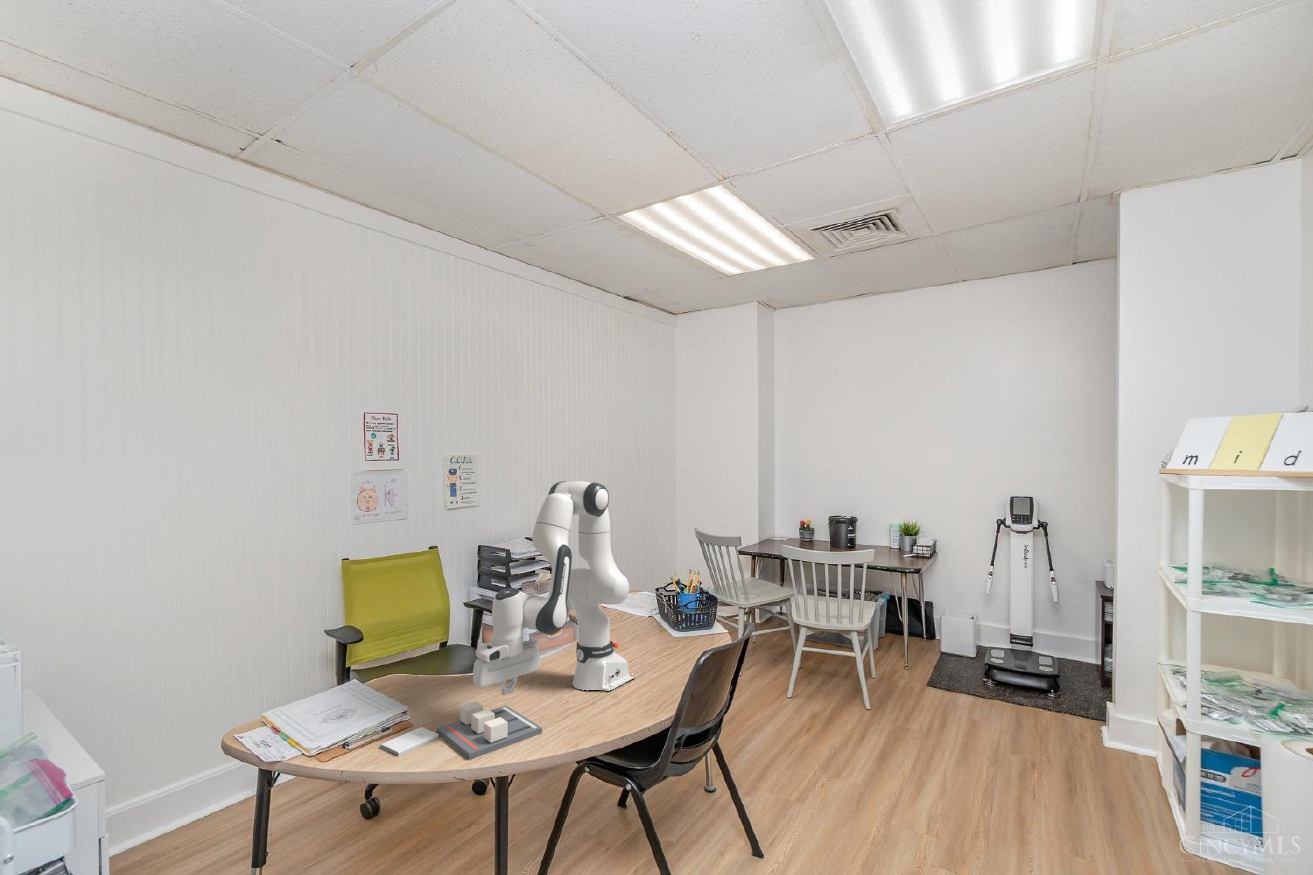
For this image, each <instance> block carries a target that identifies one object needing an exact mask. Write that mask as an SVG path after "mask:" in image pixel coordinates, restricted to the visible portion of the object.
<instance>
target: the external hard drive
mask: <svg viewBox="0 0 1313 875" xmlns="http://www.w3.org/2000/svg"><path fill="white" fill-rule="evenodd" d="M439 736H440V735H439V734H438V733H437V732H436V731H432V730H430V729H428V728H425V727H422V726H420V727H417V728H416V729H413V730H410V731H409V732H406V733H403V734H402V735H399V736H396V737H395V738H392V739H389V740H387V741H385V742H382V743H380V745H379V748H380V749H382V750H385V751H386V752H389V753H390V752H391V753H390V754H392V753H393V755H395V756H396V757H400V755H401V756H403V755H405V754H407V753H409V752H412V751H413V750H416V749H419V748H420V747H422V746H424V745H426V744H428V743H431V742H432V740H433V741H435V740H437V739H439ZM436 738H437V739H436ZM434 739H435V740H434ZM406 752H407V753H406ZM402 754H403V755H402Z"/></svg>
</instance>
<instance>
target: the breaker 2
mask: <svg viewBox="0 0 1313 875" xmlns="http://www.w3.org/2000/svg"><path fill="white" fill-rule="evenodd" d="M507 732H508V722H507V721H505V720H504V719H502V718H501V717H499V718H496V719H493V720H490V721H487V722H484V736H483V737H484V738H485V739H486V740H488V741H489V742H490V743H491V742H494V741H497V740H500V739H503V738H505V737H507Z"/></svg>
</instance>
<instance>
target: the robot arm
mask: <svg viewBox="0 0 1313 875" xmlns="http://www.w3.org/2000/svg"><path fill="white" fill-rule="evenodd" d="M609 503H610V494H609V491H608V489H607V487H606V485H604V484H601V483H598V482H595V481H594V482H590V481H584V480H576V481H575V480H574V481H571V480H570V481H565V480H563V481H559V482H556V483H554V484H553V485H552V486H551V488H550V489H549V491H548V495H547V496H546V497H545V499H544V501H543V504H542V506H541V507H540V510H539V511H538V515H537V517H536V518H537V519H536V521H535V525H534V527H533V531H532V537H531V539H532V541H531V542H532V544H533V546H534V548H535V549H536V551H537V552H538V553H539V554H540V555H541V556H543V557H544V558H545V559H547V561H548V562H549V564H550V566H551V574H550V575H551V576H550V584H549V589H548V590H549V591H548V596H547V597H544V596H540V595H537V594H533V593H532V594H531V593H526V592H523V591H521V589H519V588H516V587H509V588H508V587H507V588H504V589H501V590H500V591H498V592H496V594H494V598H493V601H492V607H491V623H492V628H493V630H492V634H491V639H490V640H489V641H487V642H486V643H485V644H484V645H481V646H480V647H478V648H477V649H476V650H475V656H476V660H475V661H474V663H473V670H472V682H473V685H474V686H475V687H476V688H477V687H478V688H479V689H483V688H487V687H490V686H492V685H497V684H498V685H499V687H500V688H501V694H502V696H507V695H510V694H513V693H514V691H515V686H516V684H517V681H518V677H521V676H524V675H528V674H531V673H534V672H537V671H538V670H539V669H540V666H541V659H540V652H539V649H540V647H539V646H540V644H539V642H538V640H536V639H534V638H533V639H529V640H524V632H523V630H524V629H526V628H527V629H529V630H534V631H538V632H540V633H542V634H545V635H548V636H552V635H555V634H557V633H558V632H559V631H561V630H562V629H563V628H564V627H565V625H566V623H567V620H568V600H569V601H570V603H571V605H572V607H573V609H574V612H575V615H576V620H577V641H576V646H575V648H576V650H575V651H576V652H575V654H576V664H575V670H574V671H575V672H574V675H573V678H572V679H573V680H572V683H571V684H573V685H572V686H573V687H574V688H575V689H577V690H580V689H581V690H580V691H584V690H587V691H586V692H589V691H588V690H605V691H610V690H612V689H614V690H616V689H617V688H616V687H618V686H619V685H621V684H623V683H624V682H627V681H629V680H630V679H632V678H633V677H631V676H629V675H630V674H629V671H630V670H629V664H628V661H627V660H626V659H625V658H624V657H623V656H621V655H620V654H618V653H617V652H616V651H615V650H614V648H615V649H619V647H620V643H619V641H618V642H617V641H612V640H611V620H610V618H609V615H607V614H606V613H605V612H604V611H603V610H602V609H601V607H600V605H608V606H610V605H611V606H612V605H613V606H614V605H621V604H623V603H624V602H625V600H627V598H628V597H629V593H630V583H629V580H628V578H627V577H626V576H625V575H624V574H623V573H622V572H621V571H620V569H619V568H618V566H617V563H616V562H615V559H614V556H613V553H612V544H611V521H610V520H611V518H610V512H609V508H608V506H609ZM574 515H577V516H578V526H577V527H578V528H577V529H578V531H577V532H578V534H577V535H578V536H577V538H578V542H577V543H578V554H579V555H580V557H581V558H582V559H583V560H585V561H586V562H587V564H588V565H589V568H590V569H589V568H583V567H580V568H579V567H578V568H572V562H573V554H572V549H571V548H570V546H569V536H570V532H571V528H572V523H573V516H574ZM632 675H635V674H634V673H633V672H632ZM508 680H510V681H509V684H508V685H507V686H506V684H507V681H508ZM615 688H616V689H615ZM618 688H619V687H618ZM605 691H604V692H605ZM612 691H613V690H612ZM610 692H611V691H610Z"/></svg>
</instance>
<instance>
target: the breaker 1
mask: <svg viewBox="0 0 1313 875" xmlns="http://www.w3.org/2000/svg"><path fill="white" fill-rule="evenodd" d="M483 710H484V705H483V704H481V703H479V702H478V701H473V702H470V703H466V704H463V705H461V706H460V709H459V713H460V714H459V720H461V721H462V722H463V723H465V724H466V725H468V724H471V718H472V714H474V713H477V712H480V711H483Z"/></svg>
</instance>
